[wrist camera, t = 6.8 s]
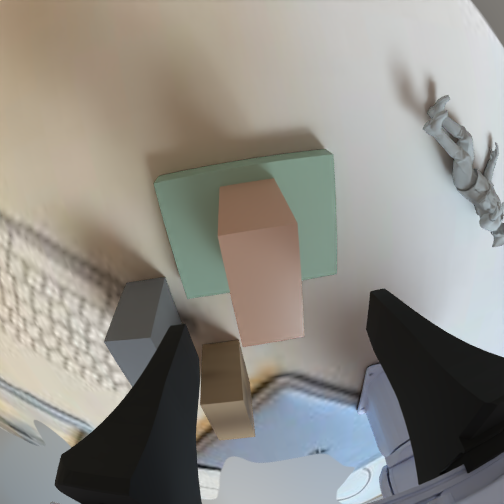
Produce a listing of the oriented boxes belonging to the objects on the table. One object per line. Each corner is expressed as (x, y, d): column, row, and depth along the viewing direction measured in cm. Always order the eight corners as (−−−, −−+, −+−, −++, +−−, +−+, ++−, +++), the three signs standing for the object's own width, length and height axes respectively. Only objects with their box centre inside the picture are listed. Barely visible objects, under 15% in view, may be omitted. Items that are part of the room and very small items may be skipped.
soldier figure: (447, 77, 16) (536, 189, 17) (410, 113, 21) (497, 210, 21) (441, 123, 13) (543, 260, 14) (389, 166, 17) (492, 279, 18)
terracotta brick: (284, 269, 20) (304, 336, 15) (237, 277, 20) (242, 347, 15) (274, 178, 17) (297, 223, 12) (219, 186, 17) (217, 236, 12)
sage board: (330, 262, 22) (336, 274, 20) (189, 285, 22) (187, 299, 20) (325, 149, 18) (333, 154, 16) (158, 175, 18) (153, 183, 16)
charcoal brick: (187, 337, 24) (182, 398, 19) (153, 341, 24) (141, 400, 19) (165, 276, 21) (150, 337, 16) (126, 282, 21) (104, 341, 16)
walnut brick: (249, 382, 28) (255, 436, 23) (218, 386, 28) (219, 440, 23) (238, 339, 25) (243, 400, 20) (202, 344, 25) (200, 404, 20)
